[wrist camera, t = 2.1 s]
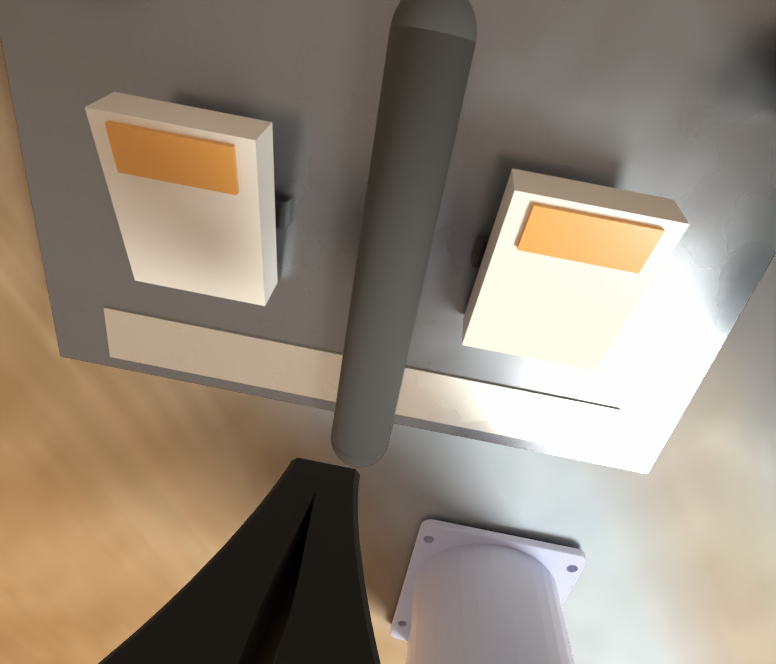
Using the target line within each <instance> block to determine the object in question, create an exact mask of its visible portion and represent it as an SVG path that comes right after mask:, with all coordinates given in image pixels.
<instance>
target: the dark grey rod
mask: <svg viewBox="0 0 776 664" xmlns="http://www.w3.org/2000/svg"><path fill="white" fill-rule="evenodd" d="M476 38H477V22H476V17H475V13H474V10H473V8H472V5H471V3H470V2H469V0H401V1H400V3H399V4H398V6H397V7H396V10H395V12H394V14H393V17H392V21H391V26H390V31H389V38H388V45H387V52H386V59H385V66H384V73H383V80H382V87H381V94H380V101H379V108H378V114H377V121H376V128H375V135H374V142H373V149H372V156H371V163H370V170H369V177H368V184H367V191H366V198H365V205H364V212H363V219H362V225H361V232H360V239H359V246H358V253H357V260H356V267H355V274H354V281H353V288H352V295H351V302H350V309H349V316H348V323H347V329H346V336H345V343H344V350H343V357H342V364H341V371H340V378H339V385H338V392H337V399H336V406H335V413H334V420H333V427H332V434H331V441H332V446H333V449H334V452H335V453H336V455H337V456H338V458H340V459H341V460H342V461H343V462H344V463H346V464H348V465H350V466H354V467H366V466H369V465H372V464H374V463H375V462H377V461H378V460H379V459H380V458H381V457H382V456H383V454H384V453H385V451H386V449H387V446H388V443H389V439H390V434H391V430H392V425H393V420H394V416H395V411H396V407H397V402H398V398H399V393H400V388H401V384H402V379H403V375H404V370H405V365H406V361H407V356H408V352H409V347H410V343H411V338H412V333H413V329H414V324H415V320H416V315H417V310H418V306H419V301H420V297H421V292H422V288H423V283H424V278H425V274H426V269H427V265H428V260H429V256H430V251H431V246H432V242H433V237H434V233H435V228H436V223H437V219H438V214H439V210H440V205H441V201H442V196H443V191H444V187H445V182H446V178H447V173H448V169H449V164H450V159H451V155H452V150H453V146H454V141H455V136H456V132H457V127H458V123H459V118H460V114H461V109H462V104H463V100H464V95H465V91H466V86H467V82H468V77H469V72H470V68H471V63H472V59H473V54H474V49H475V45H476Z"/></svg>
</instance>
